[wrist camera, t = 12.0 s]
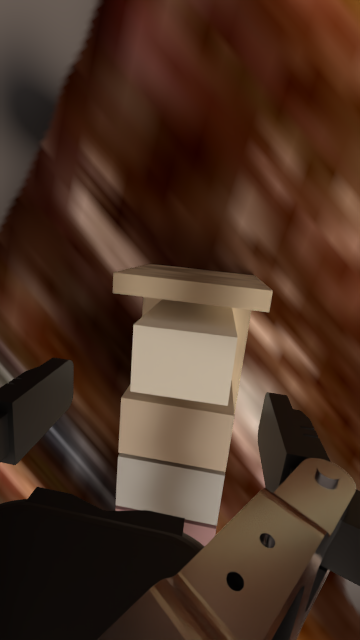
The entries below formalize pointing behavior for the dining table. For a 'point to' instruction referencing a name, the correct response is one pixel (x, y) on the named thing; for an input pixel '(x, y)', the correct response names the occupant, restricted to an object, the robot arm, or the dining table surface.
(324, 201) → the dining table surface
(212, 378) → the cream block
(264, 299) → the pastel slab stack
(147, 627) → the robot arm
